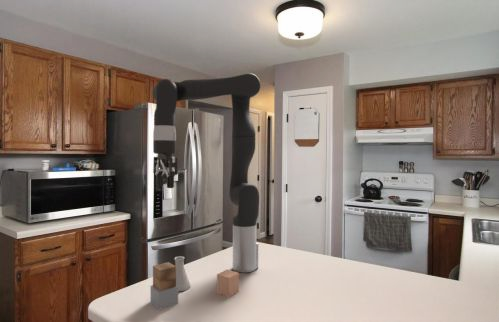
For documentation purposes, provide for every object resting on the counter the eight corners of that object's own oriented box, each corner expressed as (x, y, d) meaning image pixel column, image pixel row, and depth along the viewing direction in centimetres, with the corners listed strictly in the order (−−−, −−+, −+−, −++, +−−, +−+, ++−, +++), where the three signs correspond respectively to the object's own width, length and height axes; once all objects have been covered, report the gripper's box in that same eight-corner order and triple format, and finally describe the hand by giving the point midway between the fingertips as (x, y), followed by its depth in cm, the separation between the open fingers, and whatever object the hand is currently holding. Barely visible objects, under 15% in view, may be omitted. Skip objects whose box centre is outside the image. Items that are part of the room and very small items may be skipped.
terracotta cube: (227, 287, 103) (227, 269, 103) (238, 291, 100) (238, 272, 100) (217, 292, 99) (217, 274, 99) (229, 296, 96) (229, 277, 96)
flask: (185, 293, 99) (185, 262, 99) (164, 291, 100) (164, 260, 100) (193, 284, 106) (193, 255, 106) (174, 282, 107) (174, 253, 107)
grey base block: (169, 296, 97) (169, 280, 97) (178, 303, 92) (178, 286, 92) (150, 302, 93) (150, 285, 93) (158, 310, 88) (158, 292, 88)
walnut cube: (168, 281, 96) (168, 262, 96) (176, 286, 92) (175, 266, 92) (152, 285, 93) (152, 265, 93) (160, 291, 89) (160, 270, 89)
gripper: (184, 139, 103) (184, 188, 103) (166, 140, 114) (166, 185, 114) (163, 138, 98) (163, 189, 98) (146, 140, 109) (146, 186, 109)
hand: (164, 187), depth 106 cm, fingers open, 8 cm apart
